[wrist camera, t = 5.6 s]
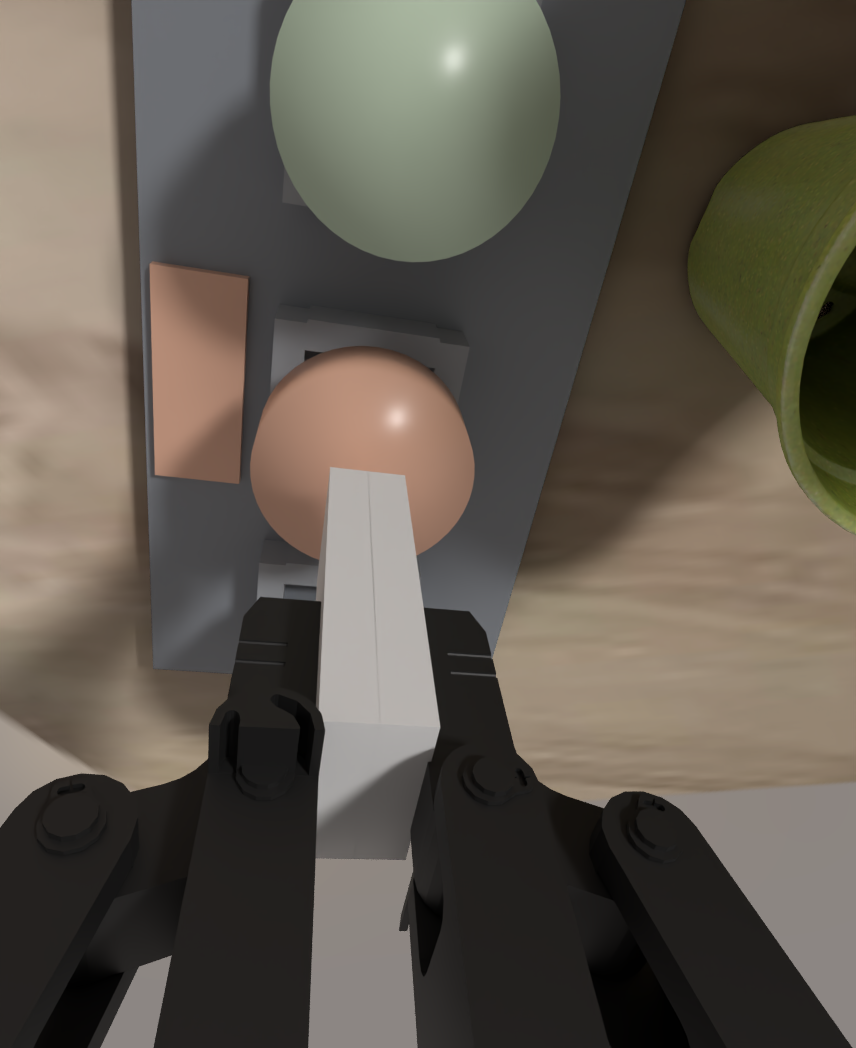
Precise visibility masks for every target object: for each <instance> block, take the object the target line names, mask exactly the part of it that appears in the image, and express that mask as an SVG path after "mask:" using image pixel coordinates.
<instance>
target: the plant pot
mask: <svg viewBox="0 0 856 1048" xmlns="http://www.w3.org/2000/svg"><path fill="white" fill-rule="evenodd" d="M687 268H688V282H689V290H690V295H691V299H692V302H693V305H694V307H695V309H696V311H697V313H698V315H699V317H700V318H701V320H702V321H703V322H704V324H705V325H706V327H707V328H708V329H709V330H710V332H711V333H712V334H713V335H714V336H715V337H716V339H717V340H718V341H719V342H720V343H721V345H722V346H723V347H724V348H725V350H726V351H727V352H728V353H729V354H730V356H731V357H732V358H733V359H734V360H735V362H736V363H737V364H738V365H739V367H740V368H741V369H742V370H743V371H744V373H745V374H746V375H747V376H748V378H749V379H750V380H751V381H752V382H753V384H754V385H755V386H756V387H757V388H758V390H759V391H760V392H761V393H762V395H763V396H764V397H765V398H766V399H767V401H768V402H769V403H770V404H771V406H772V407H773V410H774V413H775V415H776V418H777V426H778V433H779V438H780V443H781V447H782V450H783V453H784V456H785V459H786V462H787V464H788V466H789V468H790V470H791V472H792V474H793V476H794V478H795V479H796V481H797V483H798V484H799V486H800V487H801V489H802V490H803V491H804V493H805V494H806V495H807V497H808V498H809V499H810V500H811V501H812V502H813V503H814V504H815V506H816V507H817V508H818V509H819V510H820V511H821V512H822V513H823V514H825V515H826V516H827V517H828V518H829V519H830V520H832V521H833V522H835V523H836V524H838V525H839V526H840V527H842V528H843V529H845V530H846V531H848V532H850V533H852V534H854V535H856V115H853V116H847V117H841V118H835V119H830V120H825V121H819V122H813V123H807V124H803V125H799V126H796V127H793V128H790V129H787V130H784V131H782V132H780V133H778V134H776V135H774V136H772V137H770V138H769V139H767V140H765V141H764V142H762V143H761V144H759V145H758V146H756V147H755V148H754V149H752V150H751V151H750V152H748V153H747V154H746V155H745V156H743V157H742V158H741V159H740V160H739V161H738V162H737V163H736V164H735V165H734V166H733V167H732V168H731V169H730V170H729V171H728V172H727V173H726V174H725V176H724V177H723V178H722V179H721V181H720V182H719V183H718V185H717V186H716V188H715V190H714V192H713V195H712V197H711V200H710V202H709V204H708V207H707V209H706V211H705V213H704V216H703V218H702V220H701V222H700V224H699V227H698V229H697V231H696V233H695V235H694V238H693V240H692V242H691V244H690V249H689V255H688V267H687ZM827 302H832V303H833V305H832V307H831V310H830V312H829V313H827V314H826V315H824V316H822V317H821V318H819V319H817V317H818V315H819V312H820V310H821V307H822V306H824V305H825V304H826V303H827Z"/></svg>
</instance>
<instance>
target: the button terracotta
mask: <svg viewBox="0 0 856 1048" xmlns="http://www.w3.org/2000/svg"><path fill="white" fill-rule="evenodd" d="M330 467H335V468H344V469H353V470H362V471H371V472H380V473H388V474H397V475H405V479H406V486H407V493H408V500H409V508H410V515H411V522H412V529H413V536H414V543H415V550H416V556H417V555H419V554H420V553H422V552H424V551H426V550H428V549H429V548H430V547H432V546H433V545H435V544H436V543H437V542H439V541H440V540H441V539H442V538H443V537H444V536H445V535H446V534H448V532H449V531H450V530H451V529H452V528H453V527H454V525H455V524H456V523H457V521H458V520H459V518H460V517H461V515H462V514H463V512H464V510H465V508H466V506H467V504H468V501H469V498H470V495H471V492H472V488H473V482H474V468H475V463H474V456H473V450H472V446H471V443H470V439H469V436H468V433H467V430H466V427H465V424H464V420H463V417H462V414H461V411H460V409H459V406H458V404H457V402H456V400H455V398H454V396H453V395H452V393H451V392H450V390H449V388H448V387H447V386H446V385H445V384H444V382H443V381H442V380H441V379H440V378H439V377H438V376H437V375H436V374H435V373H434V372H432V371H431V370H430V369H429V368H428V367H426V366H425V365H423V364H422V363H420V362H419V361H417V360H415V359H413V358H411V357H409V356H407V355H405V354H402V353H399V352H396V351H393V350H389V349H385V348H380V347H371V346H349V347H343V348H337V349H333V350H330V351H326V352H323V353H320V354H318V355H316V356H314V357H312V358H309V359H307V360H306V361H304V362H303V363H301V364H300V365H298V366H296V367H295V368H294V369H293V370H291V371H290V372H289V373H288V374H287V375H286V376H285V377H284V378H283V379H282V380H281V381H280V382H279V383H278V385H277V386H276V387H275V389H274V390H273V392H272V393H271V395H270V396H269V398H268V400H267V402H266V405H265V407H264V409H263V412H262V416H261V419H260V423H259V426H258V430H257V434H256V437H255V441H254V445H253V449H252V454H251V461H250V478H251V483H252V489H253V493H254V496H255V499H256V502H257V504H258V506H259V508H260V510H261V512H262V514H263V516H264V517H265V519H266V520H267V521H268V523H269V524H270V526H271V527H272V528H273V529H274V530H275V531H276V532H277V533H278V535H279V536H281V537H282V538H283V539H284V540H285V541H286V542H288V543H289V544H290V545H292V546H293V547H295V548H296V549H298V550H299V551H301V552H303V553H305V554H307V555H308V556H310V557H313V558H315V559H318V560H319V559H320V550H321V542H322V533H323V524H324V516H325V507H326V499H327V490H328V482H329V473H330Z"/></svg>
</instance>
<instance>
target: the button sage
mask: <svg viewBox="0 0 856 1048" xmlns="http://www.w3.org/2000/svg"><path fill="white" fill-rule="evenodd" d="M560 97H561V95H560V74H559V68H558V61H557V55H556V50H555V47H554V43H553V39H552V36H551V32H550V29H549V27H548V25H547V22H546V20H545V17H544V15H543V12H542V10H541V8H540V6H539V5H538V3H537V1H536V0H293V1H292V3H291V5H290V7H289V9H288V11H287V13H286V15H285V18H284V20H283V23H282V26H281V29H280V31H279V34H278V37H277V41H276V45H275V50H274V54H273V58H272V67H271V76H270V109H271V117H272V125H273V130H274V134H275V138H276V143H277V147H278V150H279V153H280V155H281V158H282V161H283V164H284V166H285V169H286V171H287V173H288V175H289V177H290V179H291V181H292V183H293V185H294V187H295V188H296V190H297V191H298V193H299V194H300V196H301V197H302V199H303V201H304V202H305V203H306V205H307V206H308V207H309V208H310V209H311V211H312V212H313V213H314V214H315V215H316V217H317V218H318V219H319V220H320V221H321V222H322V223H324V224H325V225H326V226H327V227H328V228H329V229H330V230H331V231H332V232H334V233H335V234H336V235H338V236H339V237H341V238H342V239H343V240H345V241H346V242H348V243H350V244H352V245H353V246H355V247H357V248H359V249H361V250H363V251H365V252H368V253H371V254H373V255H376V256H378V257H382V258H387V259H391V260H395V261H405V262H430V261H435V260H441V259H446V258H450V257H453V256H456V255H459V254H462V253H464V252H466V251H469V250H471V249H473V248H475V247H477V246H479V245H481V244H482V243H484V242H485V241H487V240H488V239H490V238H491V237H493V236H494V235H495V234H497V233H498V232H499V231H500V230H501V229H503V228H504V227H505V226H506V225H507V224H508V223H509V222H510V221H511V220H512V219H513V218H514V217H515V216H516V215H517V214H518V213H519V211H520V210H521V209H522V208H523V206H524V205H525V204H526V202H527V201H528V199H529V198H530V197H531V195H532V194H533V192H534V190H535V188H536V186H537V185H538V183H539V181H540V179H541V178H542V175H543V173H544V171H545V168H546V166H547V163H548V161H549V159H550V155H551V152H552V148H553V145H554V142H555V138H556V132H557V127H558V121H559V112H560Z"/></svg>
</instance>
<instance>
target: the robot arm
mask: <svg viewBox="0 0 856 1048" xmlns="http://www.w3.org/2000/svg"><path fill="white" fill-rule="evenodd" d="M410 841H411V845H412V859H413V874H412V877H411V881H410V884H409V888H408V892H407V895H406V899H405V903H404V906H403V910H402V914H401V920H400V927H399V931H407V929H408V925H410V926H409V927H410V942H411V956H412V971H413V984H414V1000H415V1014H416V1028H417V1044H418V1048H852V1047H851V1045H850V1044H849V1042H848V1041H847V1040H846V1039H845V1037H844V1035H843V1034H842V1033H841V1031H840V1030H839V1028H838V1027H837V1025H836V1024H835V1023H834V1021H833V1020H832V1019H831V1017H830V1016H829V1014H828V1013H827V1011H826V1010H825V1009H824V1007H823V1006H822V1004H821V1003H820V1001H819V1000H818V999H817V997H816V996H815V994H814V993H813V992H812V990H811V989H810V987H809V986H808V985H807V983H806V982H805V980H804V979H803V977H802V976H801V974H800V973H799V972H798V970H797V969H796V967H795V966H794V965H793V963H792V962H791V960H790V959H789V957H788V956H787V955H786V953H785V952H784V950H783V949H782V948H781V946H780V945H779V943H778V942H777V940H776V939H775V938H774V936H773V935H772V933H771V932H770V931H769V929H768V928H767V926H766V925H765V923H764V922H763V921H762V919H761V918H760V916H759V915H758V914H757V912H756V911H755V909H754V908H753V907H752V905H751V904H750V902H749V901H748V899H747V898H746V897H745V895H744V894H743V892H742V891H741V890H740V888H739V887H738V885H737V884H736V882H735V881H734V880H733V878H732V877H731V876H730V874H729V873H728V871H727V870H726V868H725V867H724V866H723V864H722V863H721V861H720V860H719V858H718V857H717V855H716V854H715V853H714V851H713V850H712V848H711V847H710V846H709V844H708V843H707V841H706V840H705V838H704V837H703V836H702V834H701V833H700V831H699V830H698V829H697V827H696V826H695V825H694V824H693V823H692V822H691V820H690V819H689V818H688V817H687V816H686V815H685V814H684V813H683V812H682V811H681V810H680V809H679V808H677V807H676V806H674V805H673V804H671V803H669V802H668V801H666V800H665V799H663V798H661V797H658V796H655V795H652V794H649V793H646V792H623V793H621V794H619V795H617V796H614V797H612V798H611V799H610V800H609V802H608V803H607V805H606V806H605V808H601V807H598V806H595V805H592V804H589V803H586V802H583V801H580V800H577V799H574V798H570V797H567V796H565V795H562V794H560V793H558V792H556V791H553V790H551V789H550V788H548V787H547V786H545V785H543V784H542V783H540V782H539V781H538V780H537V777H536V775H535V773H534V771H533V769H532V768H531V767H530V766H529V765H528V764H527V763H526V762H525V761H524V760H523V759H522V758H521V757H520V756H519V755H517V753H516V750H515V748H514V744H513V740H512V736H511V732H510V728H509V724H508V720H507V716H506V712H505V708H504V703H503V699H502V695H501V691H500V687H499V683H498V679H497V678H496V671H495V667H494V663H493V659H491V651H490V647H489V642H488V638H487V634H486V631H485V630H484V629H483V628H482V626H481V625H480V624H479V623H478V621H477V620H476V619H475V618H474V616H473V615H472V614H471V613H470V611H460V610H448V609H435V608H424V607H423V600H422V593H421V586H420V579H419V572H418V565H417V557H416V550H415V543H414V536H413V529H412V522H411V515H410V508H409V500H408V493H407V486H406V479H405V475H397V474H388V473H380V472H371V471H362V470H353V469H344V468H335V467H330V473H329V482H328V490H327V499H326V507H325V516H324V524H323V533H322V542H321V550H320V559H319V567H318V576H317V590H316V601H309V600H297V599H284V598H271V597H260V598H259V599H258V600H257V601H256V602H255V603H254V605H253V606H252V607H251V608H250V609H249V610H248V611H247V613H246V614H245V615H244V616H243V621H242V627H241V632H240V637H239V644H238V647H237V652H236V657H235V664H234V668H233V673H232V678H231V683H230V688H229V694H228V699H227V700H226V701H225V702H224V703H223V704H222V705H221V706H219V707H218V708H217V710H216V712H215V714H214V716H213V718H212V720H211V722H210V724H209V750H208V759H207V760H206V761H205V762H204V763H203V764H202V765H201V766H199V767H198V768H197V769H196V770H194V771H193V772H191V773H189V774H187V775H186V776H184V777H182V778H180V779H177V780H174V781H171V782H168V783H165V784H162V785H158V786H154V787H150V788H146V789H141V790H137V791H133V792H130V791H129V790H128V789H127V788H126V786H125V785H124V784H123V783H121V782H119V781H116V780H114V779H112V778H110V777H108V776H105V775H95V774H77V775H73V776H69V777H65V778H59V779H56V780H54V781H52V782H50V783H48V784H46V785H44V786H43V787H41V788H39V789H37V790H35V791H33V792H32V793H31V794H30V795H29V796H28V797H27V798H26V799H25V800H24V801H23V802H21V803H20V804H19V805H18V806H17V807H16V808H15V809H14V811H13V812H12V813H11V814H10V816H9V817H8V818H7V820H6V821H5V822H4V824H3V825H2V826H1V828H0V1048H100V1047H101V1045H102V1043H103V1041H104V1038H105V1036H106V1034H107V1032H108V1030H109V1028H110V1026H111V1024H112V1022H113V1020H114V1018H115V1015H116V1013H117V1011H118V1009H119V1007H120V1005H121V1003H122V1001H123V999H124V997H125V994H126V992H127V990H128V988H129V986H130V984H131V982H132V980H133V978H134V975H135V973H136V971H137V969H138V967H139V966H142V965H145V964H147V963H151V962H153V961H156V960H159V959H162V958H165V957H168V956H171V955H172V957H171V962H170V967H169V972H168V977H167V983H166V988H165V993H164V998H163V1003H162V1008H161V1013H160V1018H159V1023H158V1028H157V1033H156V1038H155V1043H154V1048H308V1036H309V1035H308V1034H309V1010H310V984H311V959H312V958H311V957H312V933H313V908H314V883H315V882H314V881H315V858H334V859H337V858H338V859H388V860H406V856H407V852H408V848H409V845H410Z"/></svg>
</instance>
